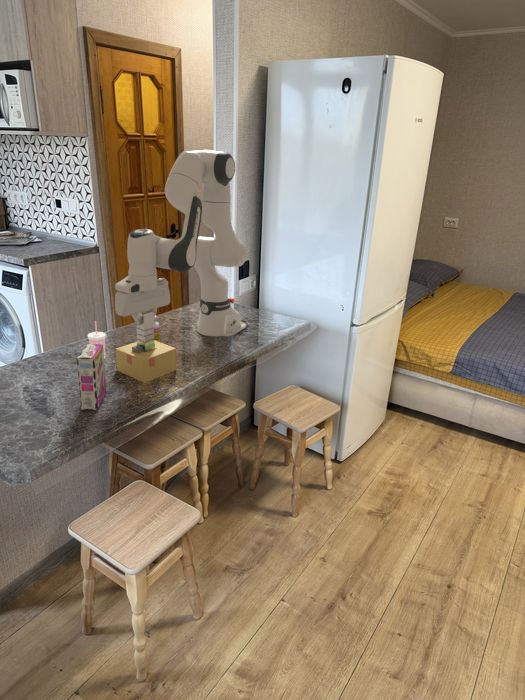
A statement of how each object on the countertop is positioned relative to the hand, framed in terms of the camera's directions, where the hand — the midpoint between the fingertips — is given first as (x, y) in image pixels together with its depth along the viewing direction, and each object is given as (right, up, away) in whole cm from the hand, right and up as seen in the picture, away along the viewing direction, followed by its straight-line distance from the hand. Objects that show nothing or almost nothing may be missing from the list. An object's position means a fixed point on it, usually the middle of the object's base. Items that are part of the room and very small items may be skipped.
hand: (144, 323), depth 159 cm
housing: (-1, -16, +6) cm, 17 cm away
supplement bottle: (-4, -8, +25) cm, 26 cm away
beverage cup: (-20, -12, +14) cm, 27 cm away
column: (-1, -11, +5) cm, 12 cm away
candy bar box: (-11, -24, -16) cm, 31 cm away
